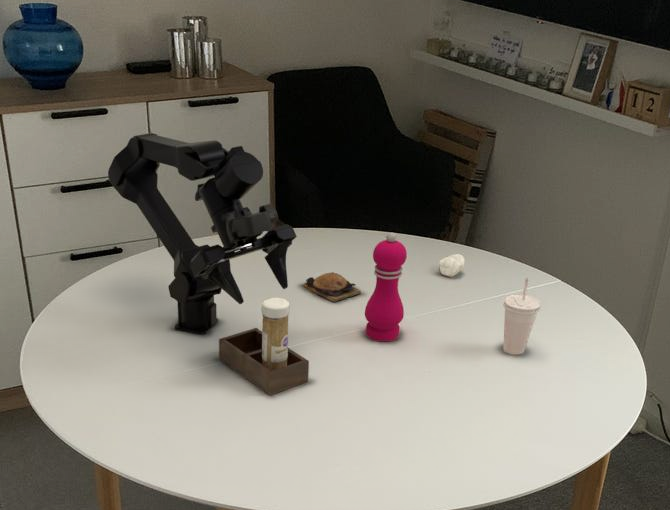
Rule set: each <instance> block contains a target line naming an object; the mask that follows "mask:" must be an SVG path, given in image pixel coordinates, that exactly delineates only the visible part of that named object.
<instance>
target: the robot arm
mask: <svg viewBox="0 0 670 510" xmlns="http://www.w3.org/2000/svg"><path fill="white" fill-rule="evenodd" d="M162 164H163V165H166V166H170V167H173V168H176V169H177V172H178V173H177V174H179V175H180V176H181V177H184V178H185V179H187V180H188V181H191V182H192V181H199V180H202V179H207V178H209V179H208V180H206V182H204V183H198V184H197V187H196V192H195V194H194V200H195V201H196V202H199V201H202V202H203V204H204V206H205V208H206V211H207V212H208V215H209V217H210V219H211V223H212V224H213V225H212V226H211V227H210V229H211V231H212V234H214V233H217V236H218V237H219V239H220V241H221V244H222V245H219V243H217V244H215V245H211V246H210V245H209V244H203V245H198V244H196V243H195V241H194V240H193V239H192V237H191V236H190V235H189V233H188V232H187V230H186V229H185V227H184V225H183V224H182V222H181V221H180V220H179V218H178V217H177V216H176V214H175V213H174V211H173V209H172V208H171V206H170V205H169V203H168V202H167V200H165V197H164V196H163V194H162V193H161V191H160V190H159V188H158V176H159V175H158V169H159V168H160V165H162ZM107 177H108V180H109V183H110V185H111V186H112V187H113V189H115V190H116V192H117V193H118V194H119V196H120V197H122V198H123V199H125V200H127V201H129V202H131V203H133V204H135V205H136V206H137V208H138V209H139V210H140V212H141V214H142V215H143V216H144V218H145V220H147V222H148V224H149V225H150V227H151V228H152V230H153V231H154V233H155V234H156V236H157V237H158V239H159V240H160V242H161V244H162V245H163V247H164V248H165V249H166V251H167V253H169V255H170V257H171V258H172V260H173V277H174V279H173V280H172V281H171V282H170V284H169V285H168V286H167V287H168V293H169V296H170V298H171V299H173V300H174V301H176V303H177V321H178V322H177V323H176V324H174V329H175V330H180V331H184V332H185V331H186V332H190V333H194V334H195V333H196V334H200V335H205V334H207V333H208V332H209V331H210V330H211V329H212V328H213V327H215V326H214V325H216V324H217V323H218V322H219V318H218V317H217V314H218V313H217V303H216V302H215V295H220V294H221V293H222V290H223V291H224V292H225V293H226V294H227V295H229V296H230V297H231V298H232V299H233V300H234V301H235V302H236V303H238V304H239V305H242V304H243V303H244V297H243V295H242V292H241V290H240V288H239V285H238V284H237V281H236V279H235V277H234V275H233V273H232V270H231V269H232V268H231V260H233V259H237V258H238V257H241V256H245V255H248V254H251V253H254V252H258V251H262V252H264V253H265V254H267V255H265V256H264V259H265V261H266V263H267V265H268V267H269V268H270V270H271V271H272V273H273V275H274V277H275V279H276V280H277V282H278V284H279V285H280V287H281V288H282V290H285V289H287V288H288V287H289V282H288V272H287V252H288V249H289V248H290V247H291V246H292V244H293V241H294V240H295V239H296V238H298V235H297V234H296V231H295V229H294V227H293V226H292V225H289V224H288V223H285V224H282V225H279V226H274V227H273V225H272V224H276V223H278V222H279V215H278V211H277V210H276V209H277V208H276V207H275V206H274V204H273V203H268V204H264V205H260V206H259V207H258V212H255V213H252V211H251V209H250V208H249V207H248V206H246V207H244V206H243V204H242V202H241V200H242V199H243V198H244V197H245V196H246V195H247V194H248V193H250V191H252V189H253V188H254V187H256V186H257V184H259V182H260V181H261V180H262V179H263V177H264V167H263V164H262V162H261V161H260V160H259V159H258V158H257V157H256V156H255V155H253V154H252V153H250V152H247V151H245V149H244V147H243V146H242V145H238V146H233V147H231V148H230V149H229V150H227V149H226V148H225V147H223V144H222V143H221V142H220V141H218V140H205V141H196V142H186V141H182V140H178V139H174V138H170V137H164V136H161V135H158V134H157V133H153V132H149V133H142V134H138V135H133V136H132V137H130V139H129V140H128V142H127V144H126V146H124V148H122V149H121V150H120V151H119V152H118V153H117V154H116V155H115V156H114V157H113V159H112V161H111V164H110V165H109V168H108V171H107ZM264 232H266V233H265V234H264ZM263 234H264V235H263ZM261 235H262V236H261ZM260 236H261V237H260ZM258 237H259V238H258Z"/></svg>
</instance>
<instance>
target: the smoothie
mask: <svg viewBox="0 0 670 510" xmlns="http://www.w3.org/2000/svg"><path fill="white" fill-rule="evenodd" d="M529 280H530V277H528V276H526V277H525V280H524V286H523V291H522V294H512V295H508V296H506V297H504V300H503V305H502V306H503V307H504V321H503V322H504V323H503V324H504V325H503V351H504V352H505V353H507V354H508V355H514V356H519V355H523V354H524V353H525V350H526V348H527V344H528V341H529V339H530V335H531V332H532V329H533V327H534V324H535V321H536V318H537V315H538V313H539V312H540V311H541V306H542V303H541V301H540V300H539V299H538V298H535V297H533V296H531V295H527V292H528V291H527V290H528V286H529Z"/></svg>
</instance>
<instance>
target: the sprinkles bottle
mask: <svg viewBox="0 0 670 510" xmlns="http://www.w3.org/2000/svg"><path fill="white" fill-rule="evenodd" d="M290 306H291V305H290V302H289V301H288V300H287V299H285V298H282V297H269V298H266V299H264V300H263V301H262V303H261V314H262V329H261V331H262V360H263V361H262V365H263V366H265V367H266V368H268V369H269V370H271V371H273V370H276V369H279V368H282V367H285V366H287V357H288V348H289V315H290V308H291V307H290Z"/></svg>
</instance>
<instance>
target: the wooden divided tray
mask: <svg viewBox="0 0 670 510" xmlns="http://www.w3.org/2000/svg"><path fill="white" fill-rule="evenodd" d="M218 356H219V357H218V360H219V361H221V362H222V363H223V364H225V365H227V366H228V367H229V368H230V369H232V370H234V371H235V372H236V373H238V374H239V375H240V376H242V377H243V378H245V379H246V380H248V381H249V382H250V383H252V384H253V385H255V386H256V387H258V388H259V389H260V390H261V391H263V392H265V394H267V395H268V396H272V395H275V394H277V393H281V392H283V391H287V390H289V389H292V388H295V387H297V386H301V385H303V384H306V383H309V367H310V360H308V359H306V357H304V356H302V355H301V354H299V353H297V352H295V351H294V350H292V349H291V348H289V347H288V357H287V366H285V367H282V368H279V369H276V370H273V371H271V370H269V369H268V368H266V367H265V366H263V365H262V361H263V360H262V329H259V328H257V327H253V328H251V329H247V330H244V331H241V332H238V333H234V334H231V335H227V336H224V337H222V338H218Z"/></svg>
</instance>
